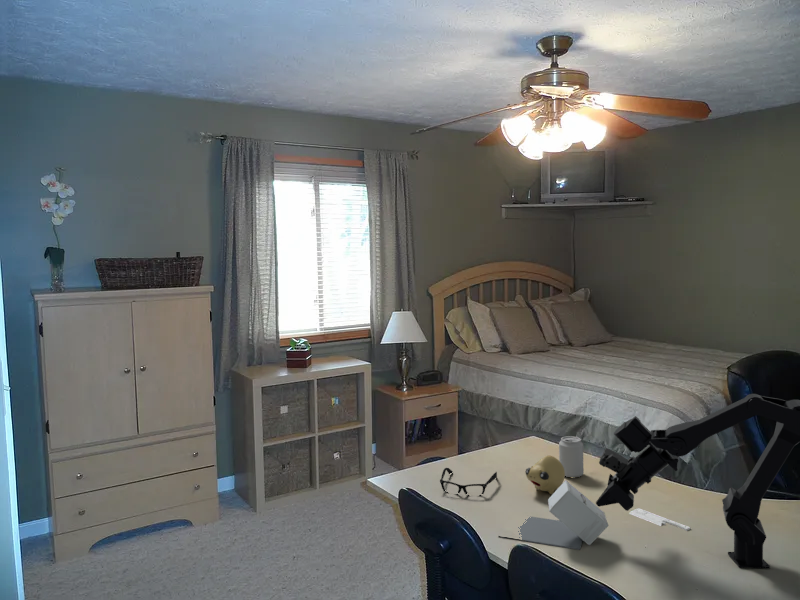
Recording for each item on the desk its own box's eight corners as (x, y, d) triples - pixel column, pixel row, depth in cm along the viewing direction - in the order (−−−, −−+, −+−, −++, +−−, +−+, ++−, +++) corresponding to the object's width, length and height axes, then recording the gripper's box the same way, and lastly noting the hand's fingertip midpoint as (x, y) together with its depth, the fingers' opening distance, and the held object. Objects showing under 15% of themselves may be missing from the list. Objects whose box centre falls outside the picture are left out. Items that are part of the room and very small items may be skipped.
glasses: (435, 497, 181) (434, 481, 181) (449, 474, 198) (448, 459, 197) (489, 502, 176) (489, 486, 175) (499, 478, 193) (499, 463, 192)
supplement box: (609, 525, 144) (568, 490, 145) (589, 546, 145) (548, 511, 146) (605, 512, 151) (565, 478, 152) (585, 532, 152) (546, 499, 154)
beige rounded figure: (519, 492, 180) (519, 457, 179) (543, 481, 188) (543, 448, 187) (547, 501, 172) (546, 465, 172) (571, 490, 180) (570, 455, 179)
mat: (586, 525, 157) (586, 524, 156) (580, 549, 144) (580, 548, 144) (510, 514, 164) (510, 513, 164) (498, 537, 152) (498, 535, 152)
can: (554, 473, 195) (554, 437, 194) (572, 469, 198) (572, 433, 197) (570, 480, 188) (569, 443, 187) (588, 476, 191) (588, 439, 190)
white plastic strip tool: (678, 536, 150) (678, 531, 150) (627, 515, 163) (627, 511, 163) (690, 530, 153) (690, 526, 153) (639, 510, 165) (639, 507, 165)
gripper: (622, 429, 153) (577, 467, 159) (617, 452, 136) (568, 493, 141) (655, 463, 151) (609, 500, 156) (655, 490, 134) (603, 530, 139)
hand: (597, 504), depth 148 cm, fingers closed
